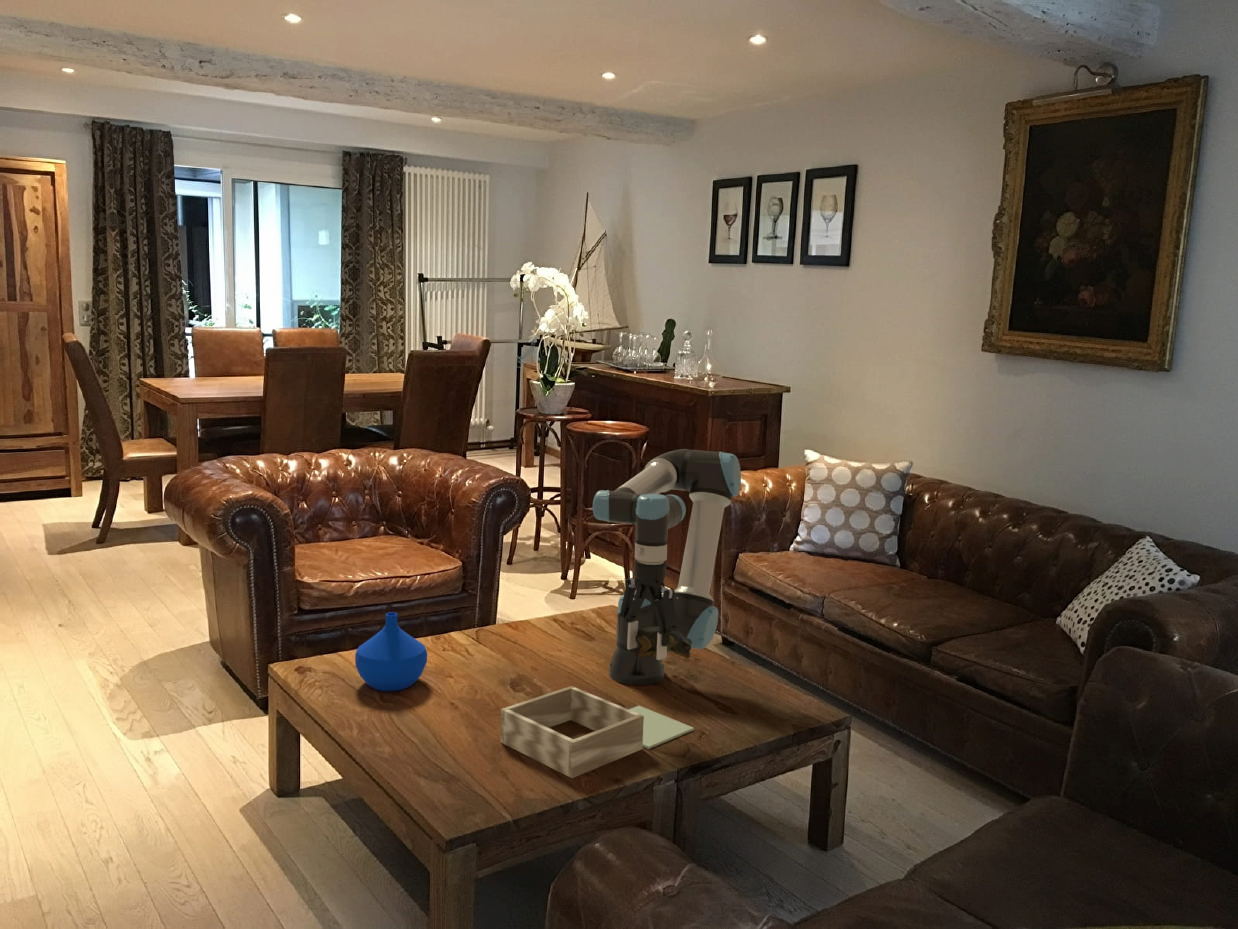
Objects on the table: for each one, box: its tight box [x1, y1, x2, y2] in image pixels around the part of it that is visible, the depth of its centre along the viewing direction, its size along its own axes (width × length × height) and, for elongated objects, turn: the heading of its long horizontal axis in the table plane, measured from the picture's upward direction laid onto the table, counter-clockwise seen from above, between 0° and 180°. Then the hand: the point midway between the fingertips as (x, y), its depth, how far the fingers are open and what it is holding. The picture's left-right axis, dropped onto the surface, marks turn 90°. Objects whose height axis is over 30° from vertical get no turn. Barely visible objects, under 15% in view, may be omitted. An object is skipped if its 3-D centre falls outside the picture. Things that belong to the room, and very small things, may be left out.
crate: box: [500, 685, 644, 779], centre depth 233 cm, size 24×22×8 cm
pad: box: [629, 705, 695, 750], centre depth 245 cm, size 18×16×1 cm
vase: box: [354, 611, 428, 692], centre depth 265 cm, size 18×18×19 cm
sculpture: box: [635, 627, 692, 660], centre depth 243 cm, size 13×6×7 cm, turn 84°
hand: (646, 653), depth 242 cm, fingers closed on sculpture, 9 cm apart
